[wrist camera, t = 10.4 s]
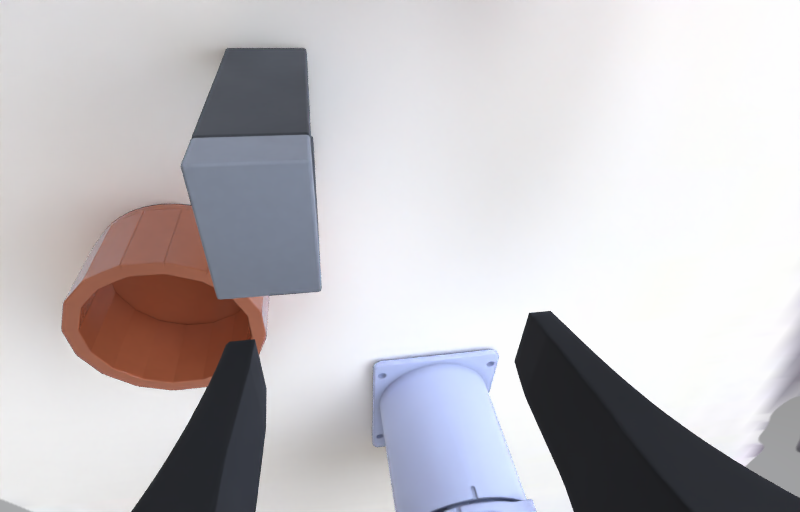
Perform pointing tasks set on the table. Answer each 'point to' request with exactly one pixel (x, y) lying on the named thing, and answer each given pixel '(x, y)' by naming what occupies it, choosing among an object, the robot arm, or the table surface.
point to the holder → (155, 304)
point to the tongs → (256, 176)
